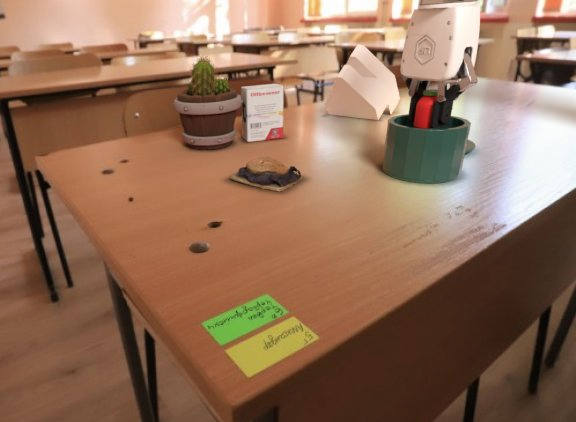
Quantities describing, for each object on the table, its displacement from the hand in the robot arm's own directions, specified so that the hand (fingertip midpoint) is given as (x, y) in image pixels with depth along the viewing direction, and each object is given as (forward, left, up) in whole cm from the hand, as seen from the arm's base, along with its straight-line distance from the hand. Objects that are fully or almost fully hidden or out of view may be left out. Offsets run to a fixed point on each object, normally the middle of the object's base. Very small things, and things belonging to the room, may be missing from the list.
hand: (427, 122), depth 67 cm
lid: (-5, -14, -8) cm, 17 cm away
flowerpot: (+41, -14, -8) cm, 44 cm away
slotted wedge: (+9, -43, -8) cm, 45 cm away
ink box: (+30, -20, -8) cm, 37 cm away
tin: (0, 0, -8) cm, 8 cm away
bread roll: (+25, +7, -8) cm, 27 cm away
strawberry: (0, 0, 0) cm, 0 cm away
